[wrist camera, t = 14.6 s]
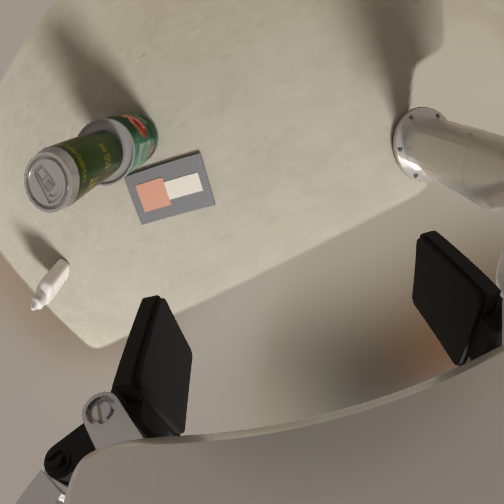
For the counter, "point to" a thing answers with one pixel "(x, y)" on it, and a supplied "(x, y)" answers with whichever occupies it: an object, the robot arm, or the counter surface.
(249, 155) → the counter surface
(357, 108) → the counter surface
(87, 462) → the robot arm
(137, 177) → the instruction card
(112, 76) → the counter surface
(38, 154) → the beer can
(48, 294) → the eye dropper bottle
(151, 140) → the canned tomato
